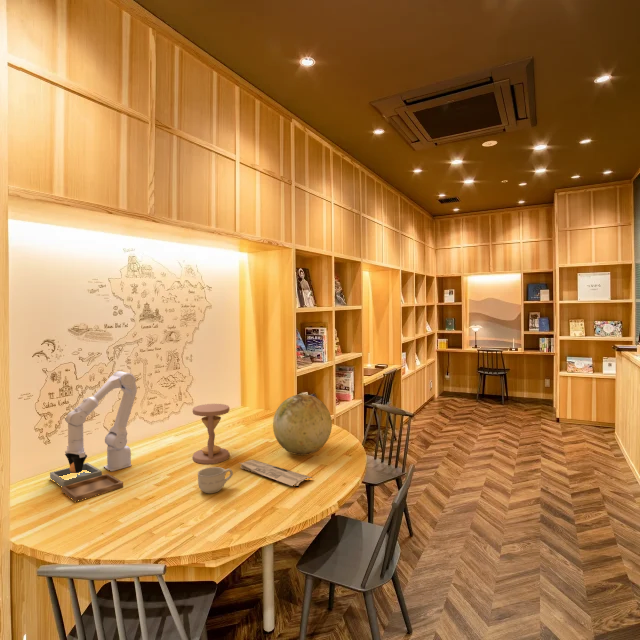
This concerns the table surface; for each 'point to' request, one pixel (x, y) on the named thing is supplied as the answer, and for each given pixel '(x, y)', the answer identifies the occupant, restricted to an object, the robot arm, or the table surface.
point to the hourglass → (211, 433)
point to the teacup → (212, 479)
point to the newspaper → (274, 472)
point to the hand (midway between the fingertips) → (76, 470)
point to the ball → (72, 468)
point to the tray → (92, 487)
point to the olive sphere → (302, 424)
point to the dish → (81, 477)
